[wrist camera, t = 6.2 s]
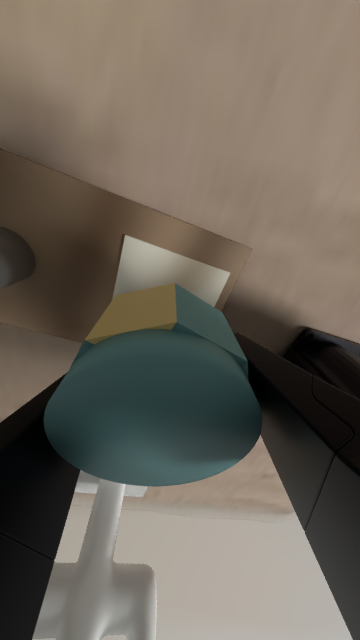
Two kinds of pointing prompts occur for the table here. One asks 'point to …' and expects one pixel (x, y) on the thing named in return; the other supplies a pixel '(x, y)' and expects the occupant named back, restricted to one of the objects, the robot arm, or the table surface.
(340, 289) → the table surface
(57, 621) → the figurine
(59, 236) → the board
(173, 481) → the cap
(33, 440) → the robot arm
